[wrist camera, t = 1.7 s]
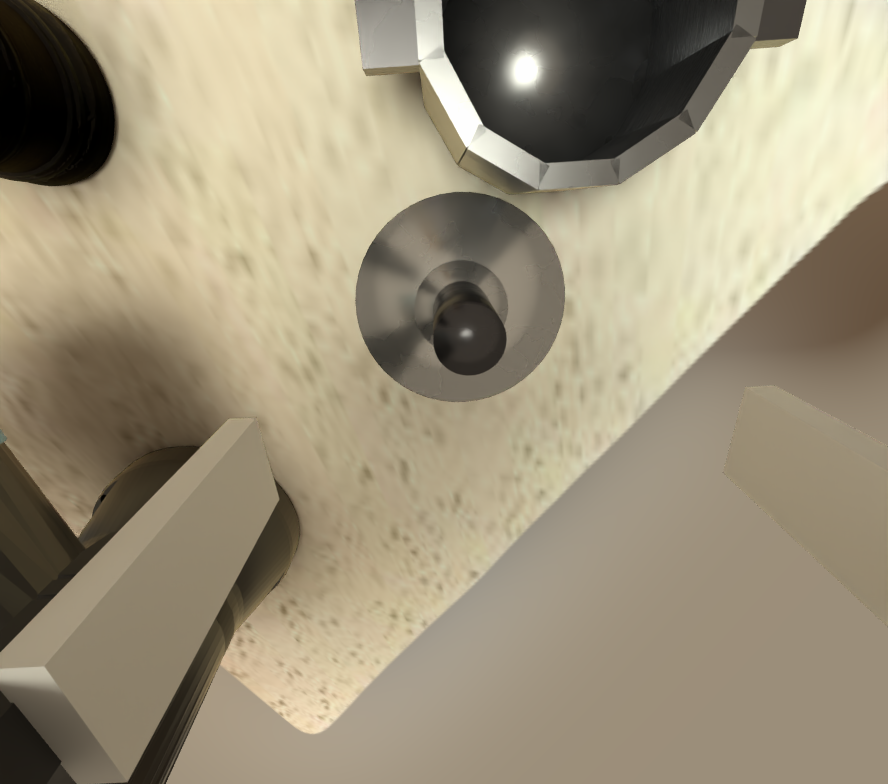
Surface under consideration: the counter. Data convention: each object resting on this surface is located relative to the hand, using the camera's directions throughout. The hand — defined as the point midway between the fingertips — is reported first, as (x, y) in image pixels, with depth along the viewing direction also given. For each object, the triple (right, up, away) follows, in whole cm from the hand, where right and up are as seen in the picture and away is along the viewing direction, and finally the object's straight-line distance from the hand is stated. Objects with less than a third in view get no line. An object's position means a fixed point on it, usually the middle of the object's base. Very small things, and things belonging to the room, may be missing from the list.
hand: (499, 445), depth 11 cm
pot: (+4, +20, +11) cm, 23 cm away
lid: (0, +7, +17) cm, 18 cm away
